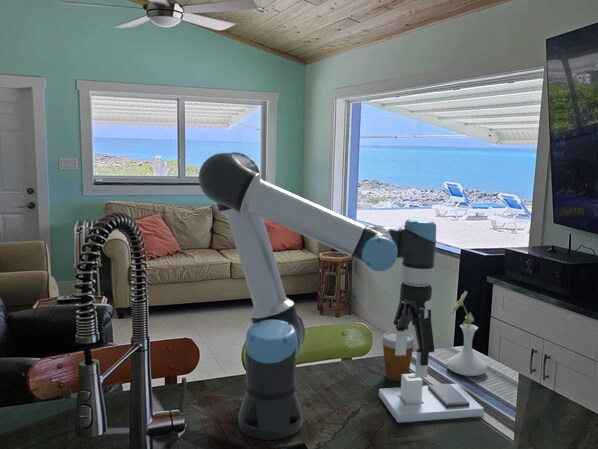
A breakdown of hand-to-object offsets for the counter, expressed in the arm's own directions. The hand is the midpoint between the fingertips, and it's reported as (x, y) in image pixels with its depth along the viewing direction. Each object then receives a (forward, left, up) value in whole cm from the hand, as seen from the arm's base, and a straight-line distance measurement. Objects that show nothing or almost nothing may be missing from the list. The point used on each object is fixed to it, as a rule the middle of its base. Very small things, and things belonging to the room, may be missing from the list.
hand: (410, 365), depth 133 cm
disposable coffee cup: (+3, +18, -11) cm, 21 cm away
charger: (+1, 0, -11) cm, 11 cm away
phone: (+10, 0, -9) cm, 14 cm away
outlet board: (+5, 0, -11) cm, 12 cm away
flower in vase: (+24, +18, -11) cm, 32 cm away
